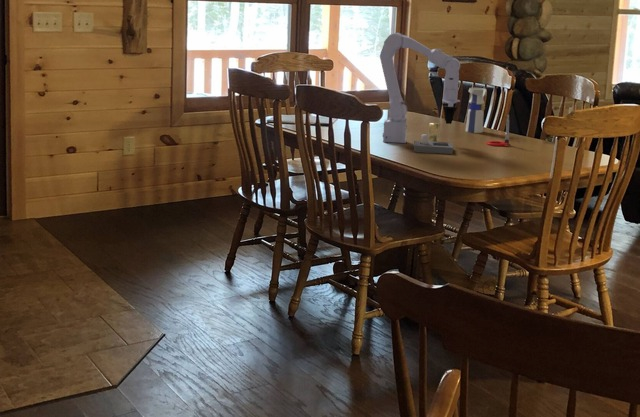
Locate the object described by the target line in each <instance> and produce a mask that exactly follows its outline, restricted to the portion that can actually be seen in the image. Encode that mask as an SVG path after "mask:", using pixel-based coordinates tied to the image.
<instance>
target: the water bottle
mask: <svg viewBox="0 0 640 417" xmlns="http://www.w3.org/2000/svg"><path fill="white" fill-rule="evenodd" d="M481 81H482V85H487V81H488V79H486V76H484V77H483V79H481ZM468 93H470V98H469V101H468V104H469V106H468V109H467V116H466V123H465V124H466V125H465V132H466V133H470V134H471V133H473V134H482V133H483V132H484V130H483V129H484V115H485V114H484V113H485V112H484V111H485V109H486V103H485V101H484V96H485V97H486V96H487V93H488V92H487V89H486V88H482V87H469V89H468Z"/></svg>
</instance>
